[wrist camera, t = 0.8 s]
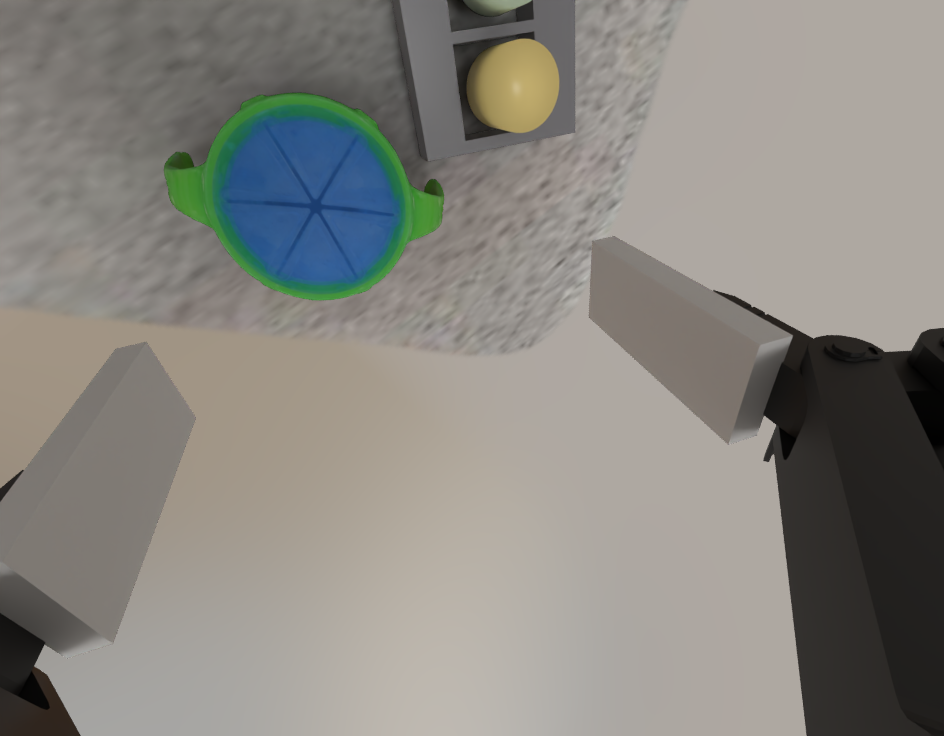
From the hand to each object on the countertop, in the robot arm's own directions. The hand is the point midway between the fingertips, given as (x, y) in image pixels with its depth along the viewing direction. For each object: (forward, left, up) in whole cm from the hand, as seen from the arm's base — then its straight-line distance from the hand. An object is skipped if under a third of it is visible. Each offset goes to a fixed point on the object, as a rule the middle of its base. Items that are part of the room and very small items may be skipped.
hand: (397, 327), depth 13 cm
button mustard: (-5, +11, -20) cm, 23 cm away
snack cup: (-1, -2, -24) cm, 24 cm away
